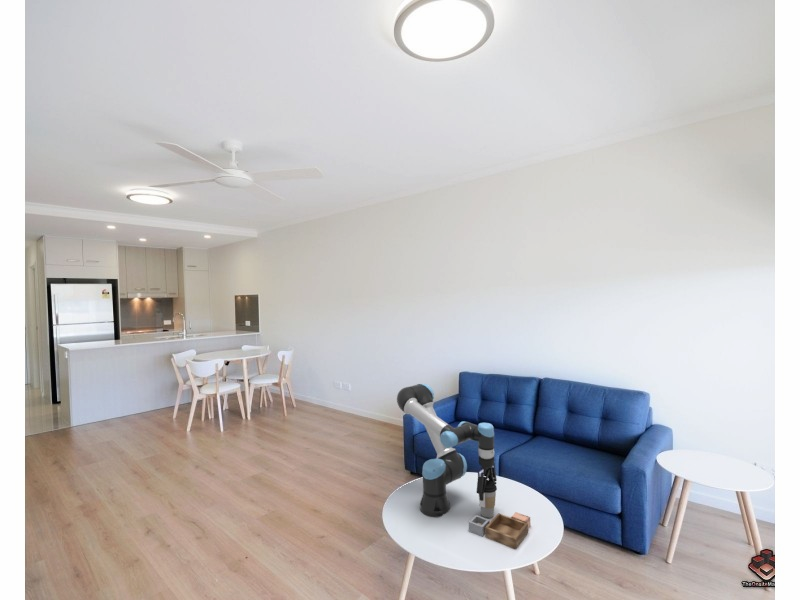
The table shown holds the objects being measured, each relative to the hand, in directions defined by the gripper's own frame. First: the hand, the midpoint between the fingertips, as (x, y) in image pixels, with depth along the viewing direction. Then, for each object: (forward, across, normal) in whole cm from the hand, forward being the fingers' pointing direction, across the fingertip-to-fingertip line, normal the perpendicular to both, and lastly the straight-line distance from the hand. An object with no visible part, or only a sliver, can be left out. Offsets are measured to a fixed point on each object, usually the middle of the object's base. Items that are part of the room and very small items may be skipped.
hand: (487, 501), depth 187 cm
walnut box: (+7, -9, -14) cm, 18 cm away
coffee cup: (+6, 0, 0) cm, 6 cm away
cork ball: (+6, -13, -2) cm, 15 cm away
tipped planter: (+7, +1, -16) cm, 18 cm away
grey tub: (+7, -13, -2) cm, 15 cm away
